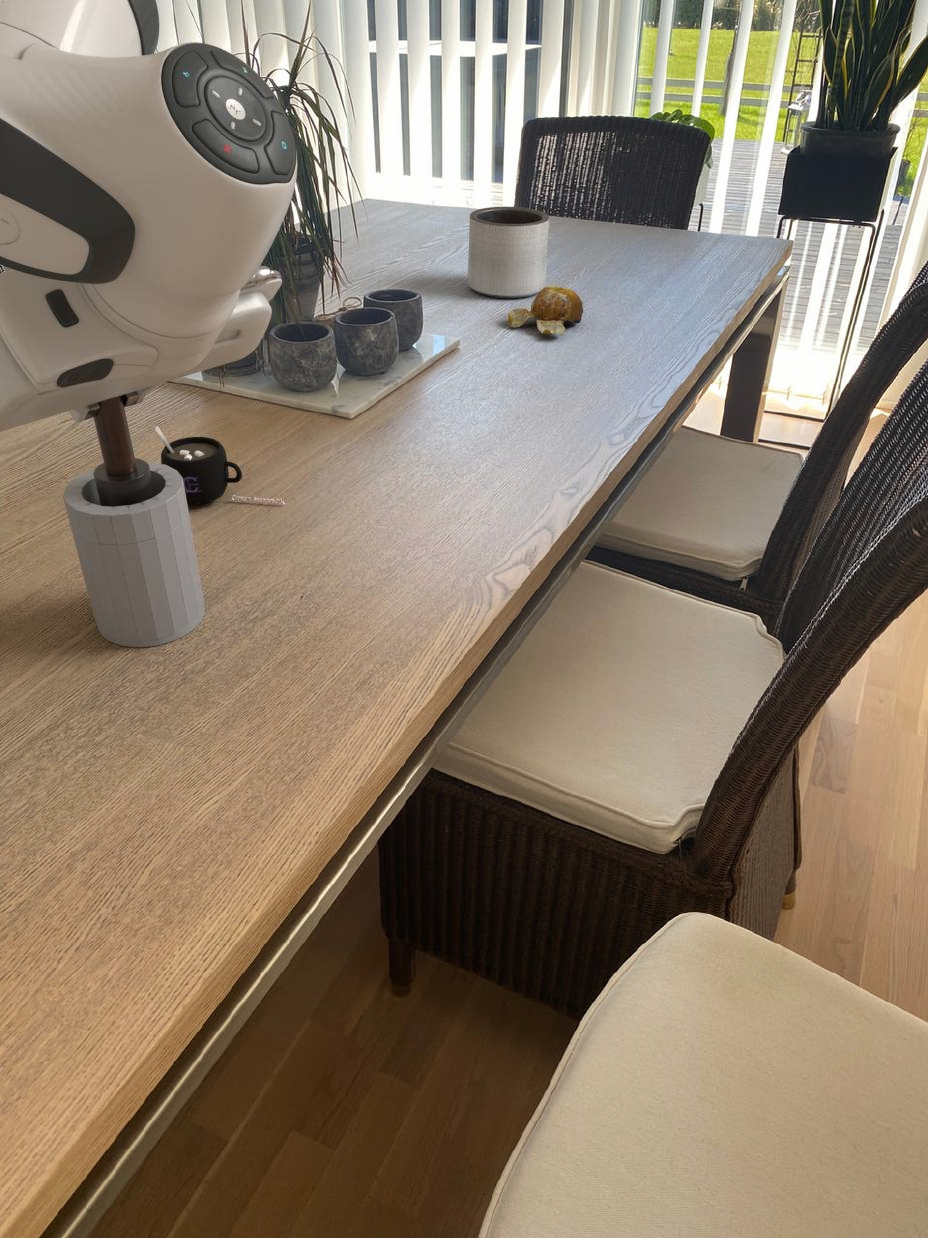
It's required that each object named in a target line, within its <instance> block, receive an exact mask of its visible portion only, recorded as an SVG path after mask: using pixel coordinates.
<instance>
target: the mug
mask: <svg viewBox="0 0 928 1238" xmlns="http://www.w3.org/2000/svg"><path fill="white" fill-rule="evenodd" d="M154 430H155V432H156V433H157V434H158V436H159V438H160V439H161V441H162V442H163V443H164V445H165V446H164V447H163V449H162V450H161V453H160V464H164V465H167V466H169V467H171V468H173V469H175V470H177V471H178V473H179V474H180V475H181V476H182V478H183V482H184V488H185V494H186V500H187V505H206V504H209V503H212V502H214V501H216V500H219V498H221V497H222V496H223V495H224V493H225V492H226V490H227V487H228V484H236V483H239V482H240V481H241V480H242V478H243V473H242V470H241V468H240V466H239V465H238V464H237V463H235V462H232V461H229V460H228V458H227V452H226V449H225V447H224V446H223V444H222V443H221V442H220V441H219V440H217V439H214V438H213V437H212V438H211V437H207V436H188V437H187V436H186V437H183V438H178V439H176V440H174V441H173V440H172V441H171V442H169V441H168V439H167V438H166V437H165V435H164V434H163V432H162V430H161V429H160V427H159V425H156V426H155V427H154ZM229 468H232V469H234V471H235V473H236V476H235V477H230V472H229V471H230V470H229ZM234 497H235V498H234ZM230 498H231V500H232V501H237V502H238V501H239V502H248V503H251V501H252V499H253V503H262V505H264V504H275V505H278V504H279V505H280V504H281V505H285V502H284V499H282V497H281V498H278V499H274V498H265V497H264V498H261V497H260V498H259V497H257V496H253V498H252V499H251V497H248V496H244V497H243V496H237V494H232V495H231V497H230Z"/></svg>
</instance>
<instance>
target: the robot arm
mask: <svg viewBox="0 0 928 1238" xmlns="http://www.w3.org/2000/svg"><path fill="white" fill-rule="evenodd" d="M159 37H160V16H159V9H158V3H157V0H0V265H1V266H3V267H6V268H8V270H5V271H3V272H1V273H0V433H1V432H5V431H8V430H11V429H14V428H17V427H21V426H25V425H27V424H31V423H34V422H37V421H41V420H44V419H47V418H51V417H55V416H58V415H61V414H64V413H68V412H69V414H70V415H71V417H72V420H73V421H74V422H75V423H80V422H83V421H87V420H90V419H94V418H93V417H96V416H97V412H99V410H100V406H99V404H98V402H101V401H104V400H107V399H111V398H114V397H117V396H121V395H122V399H123V404H124V408H127V407H131V406H135V405H138V404H142V403H143V401H144V399H145V398H146V395H147V394H149V393H151V392H152V391H153V390H155V389H156V388H158V387H159V386H160V385H162V384H163V383H167V382H170V381H174V380H177V379H181V378H184V377H187V376H191V375H194V374H197V373H201V372H203V371H208V370H210V369H213V368H216V367H220V366H225V365H226V364H230V363H235V362H237V361H240V360H242V359H244V358H246V357H248V356H249V355H250V354H251V353H253V352H254V351H255V350H256V349H257V348H258V347H259V345H260V343H261V342H262V339H263V337H264V335H265V333H266V332H267V329H268V327H269V324H270V321H271V318H272V313H273V309H272V307H271V305H270V303H269V302H270V301H271V300H272V299H274V297H275V296H276V295H277V292H278V291H279V290H280V288H281V286H282V284H283V280H282V274H281V273H280V272H279V271H278V270H275V269H271V268H270V267H268V266H266V265H262V264H263V262H264V260H265V258H266V256H267V255H268V253H269V251H270V248H271V247H272V245H273V243H274V241H275V240H276V237H277V235H278V233H279V231H280V229H281V227H282V225H283V222H284V219H285V217H286V215H287V213H288V210H289V207H290V204H291V203H292V199H293V195H294V192H295V187H296V183H297V176H298V149H297V143H296V139H295V134H294V130H293V128H292V125H291V122H290V120H289V118H288V116H287V113H286V111H285V109H284V107H283V105H282V103H281V101H280V100H279V98H278V97H277V95H276V93H274V91H273V90H272V88H271V87H270V86H269V85H268V84H267V82H266V81H265V80H264V79H263V78H262V77H261V76H260V74H259V73H258V72H256V71H255V70H254V69H253V68H252V67H251V66H250V65H249V64H248V63H246V62H245V61H244V60H242V59H241V58H239V57H238V56H236V55H234V53H232V52H230V51H227V50H226V49H223V48H221V47H219V46H216V45H213V44H209V43H205V42H199V41H198V42H197V41H194V42H192V41H189V42H183V43H179V44H176V45H174V46H171V47H169V48H167V49H164V50H162V51H158V52H156V50H157V47H158V43H159Z"/></svg>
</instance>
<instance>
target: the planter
mask: <svg viewBox="0 0 928 1238" xmlns="http://www.w3.org/2000/svg"><path fill="white" fill-rule="evenodd" d="M468 226H469V227H468V228H469V230H468V234H469V235H468V257H467V260H468V262H467V285H468V287H469V288H471V289H472V290H473V291H474V292H476V293H478V294H480V295H483V296H486V297H491V298H497V299H520V298H521V299H522V298H527V297H531V296H535V295H538V293H539V292H540V291H541V290H542V289H543V288H545V287H546V283H547V269H548V268H547V267H548V246H549V230H550V216H549V214H547V213H545V212H543V211H541V210H538V209H534V208H529V207H522V206H492V207H491V206H489V207H483V208H479V209H476V210H473V211H471V212H470V214H469V225H468Z"/></svg>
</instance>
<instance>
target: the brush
mask: <svg viewBox="0 0 928 1238" xmlns="http://www.w3.org/2000/svg"><path fill="white" fill-rule="evenodd" d="M98 404H99V406H100V410H99V412H97V416H96V417H93V418H92V419H93V422H94V426H95V430H96V434H97V439H98V443H99V448H100V453H101V456H102V460H103V462H102V463H100V464H99V465H98V466H96V467H95V468H96V469H95V468H94V469H95V470H94V473H93V474H94V479H95V483H96V487H97V491H98V496H99V500H100V504H101V506H108V507H116V506H128V505H133V504H137V503H141V502H144V501H146V500H148V499H151V498H153V497H155V492H154V487H153V482H152V477H151V472H150V467H149V465H148V463H147V462H148V461H146V460H144V459H141V458H136V457H135V454H134V448H133V443H132V439H131V434H130V429H129V423H128V419H127V416H126V415H127V414H126V409H125V407H124V404H123V399H122V395H121V396H117V397H114V398H111V399H107V400H104V401H101V402H98Z"/></svg>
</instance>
